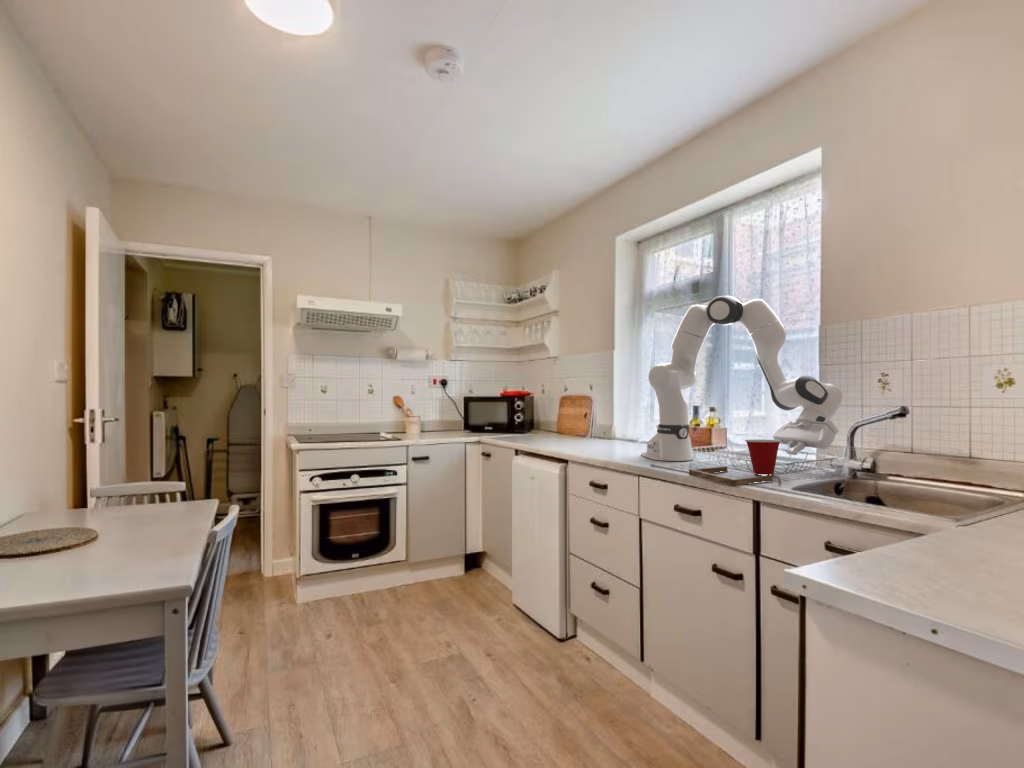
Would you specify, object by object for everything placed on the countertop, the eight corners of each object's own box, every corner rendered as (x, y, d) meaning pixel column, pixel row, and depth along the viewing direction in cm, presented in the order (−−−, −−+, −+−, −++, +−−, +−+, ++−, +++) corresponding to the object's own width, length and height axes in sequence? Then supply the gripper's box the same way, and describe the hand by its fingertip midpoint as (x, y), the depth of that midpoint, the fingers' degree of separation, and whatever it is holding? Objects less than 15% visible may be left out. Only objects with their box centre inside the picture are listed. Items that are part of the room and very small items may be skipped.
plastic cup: (773, 471, 173) (772, 436, 173) (787, 477, 162) (786, 440, 162) (740, 471, 174) (740, 437, 174) (752, 477, 163) (751, 440, 163)
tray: (689, 474, 170) (689, 469, 170) (724, 471, 175) (724, 466, 175) (733, 486, 151) (733, 480, 151) (772, 481, 156) (771, 475, 156)
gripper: (781, 416, 184) (761, 444, 181) (833, 419, 165) (812, 450, 162) (790, 427, 186) (771, 455, 182) (843, 431, 166) (822, 463, 163)
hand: (790, 453), depth 172 cm, fingers closed
